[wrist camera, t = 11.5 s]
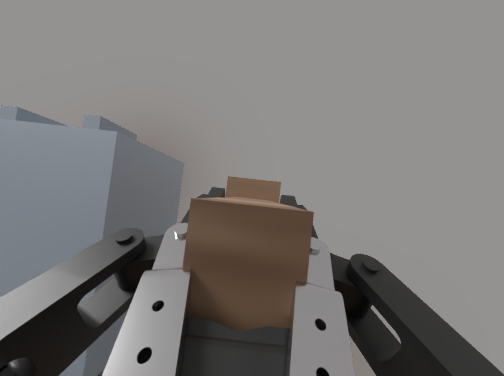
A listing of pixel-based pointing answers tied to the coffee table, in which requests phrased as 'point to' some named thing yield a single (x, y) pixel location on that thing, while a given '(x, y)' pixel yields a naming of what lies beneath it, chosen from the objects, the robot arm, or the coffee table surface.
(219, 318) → the peg
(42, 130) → the tower
